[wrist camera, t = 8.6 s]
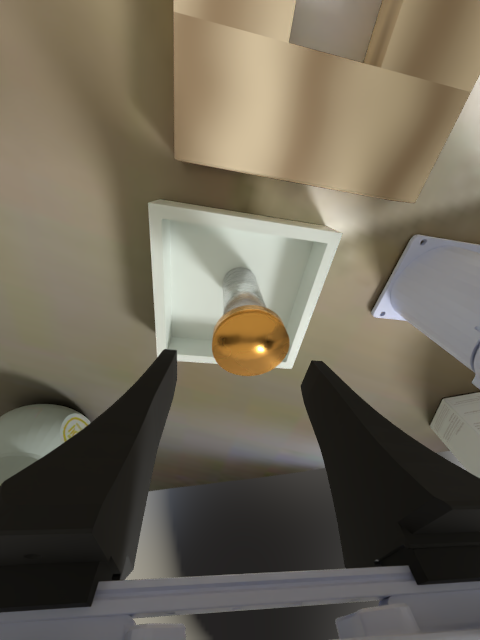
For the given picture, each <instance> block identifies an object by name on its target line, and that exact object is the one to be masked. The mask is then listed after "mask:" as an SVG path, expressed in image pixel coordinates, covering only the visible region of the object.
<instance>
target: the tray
mask: <svg viewBox="0 0 480 640" xmlns="http://www.w3.org/2000/svg"><path fill="white" fill-rule="evenodd" d="M148 211H149V228H150V244H151V261H152V278H153V294H154V311H155V328H156V344H157V357H158V356H159V355H160V353H161V352H162V351H163V350H164V349H170V350H177V361H186V362H200V363H215V364H218V363H217V362H216V360H215V358H214V356H213V353H212V339H213V330H214V327H215V325H216V323H217V322H218V320H219V319H220V318H221V317H222V316H223V279H224V276H225V275H226V273H227V272H228V271H229V270H231V269H233V268H236V267H244V268H247V269H249V270H250V271H252V272H253V274H254V275H255V277H256V280H257V283H258V286H259V288H260V291H261V294H262V297H263V300H264V302H265V305H266V308H268V309H270V310H272V311H273V312H275V313H276V314H277V315H278V316H279V317H280V318H281V320H282V322H283V324H284V326H285V328H286V331H287V333H288V336H289V342H290V344H289V350H288V353H287V355H286V357H285V358H284V359H283V361H282V362H281V363H280V364H279V365H278V366H276V367H275V368H286V369H292V367H293V364H294V361H295V359H296V356H297V353H298V351H299V348H300V345H301V343H302V340H303V337H304V335H305V332H306V330H307V327H308V324H309V322H310V319H311V316H312V314H313V311H314V308H315V306H316V303H317V300H318V298H319V295H320V292H321V290H322V287H323V284H324V282H325V279H326V276H327V274H328V271H329V268H330V266H331V263H332V260H333V258H334V255H335V252H336V250H337V247H338V244H339V242H340V239H341V236H342V234H343V233H341V232H338V231H336V230H334V229H332V228H329V227H327V226H323V225H317V224H311V223H305V222H299V221H292V220H286V219H280V218H274V217H268V216H261V215H255V214H249V213H243V212H237V211H231V210H224V209H218V208H212V207H206V206H200V205H193V204H187V203H181V202H175V201H169V200H162V199H159V200H155V201H152V202H148Z"/></svg>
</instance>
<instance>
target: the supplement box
mask: <svg viewBox="0 0 480 640" xmlns="http://www.w3.org/2000/svg"><path fill="white" fill-rule="evenodd" d="M430 427H431V429H432V430H433V431H434V432H435V433H436V434H437V436H438V437H439V438H440V439H441V440H442V442H443V443H444V444H445V445H446V446H447V447H448V449H449V450H450V451H451V452H452V453H453V454H454V455H455V457H456V458H457V459H458V460H459V462H460V463H461V464H462V465H463V466H464V467H465V468H466V470H467V471H468V472H469V473H471V474H473V475H475V476H477V477H478V478H480V392H478V393H472V394H467V395H461V396H456V397H450V398H445V399H443V400H442V401H441V403H440V406H439V408H438V410H437V412H436V414H435V416H434V418H433V420H432V422H431V425H430Z"/></svg>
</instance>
